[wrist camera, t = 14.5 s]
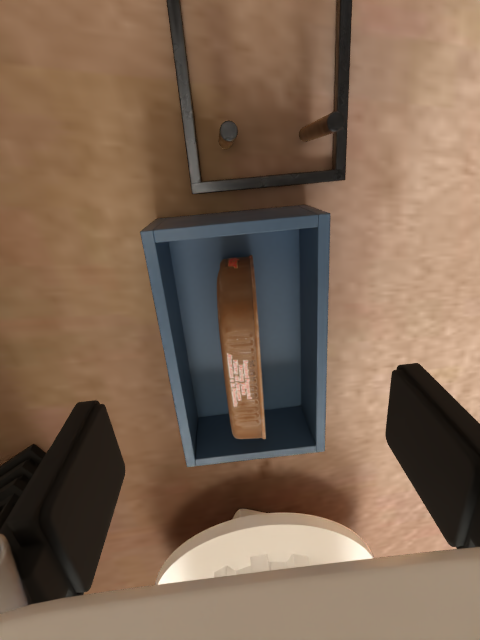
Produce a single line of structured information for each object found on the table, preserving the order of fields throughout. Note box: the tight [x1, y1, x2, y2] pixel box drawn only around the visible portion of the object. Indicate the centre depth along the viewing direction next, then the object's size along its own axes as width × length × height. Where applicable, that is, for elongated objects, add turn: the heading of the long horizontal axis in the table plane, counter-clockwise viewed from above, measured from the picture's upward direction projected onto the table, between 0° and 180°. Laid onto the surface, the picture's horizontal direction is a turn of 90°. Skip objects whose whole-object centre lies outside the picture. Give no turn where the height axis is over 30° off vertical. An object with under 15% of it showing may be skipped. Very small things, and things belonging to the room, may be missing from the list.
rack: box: [167, 0, 352, 194], centre depth 20 cm, size 12×18×7 cm, turn 5°
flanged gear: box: [155, 509, 374, 585], centre depth 35 cm, size 25×25×19 cm
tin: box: [217, 255, 266, 439], centre depth 27 cm, size 15×3×8 cm, turn 5°
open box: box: [140, 205, 330, 467], centre depth 28 cm, size 12×20×6 cm, turn 5°
